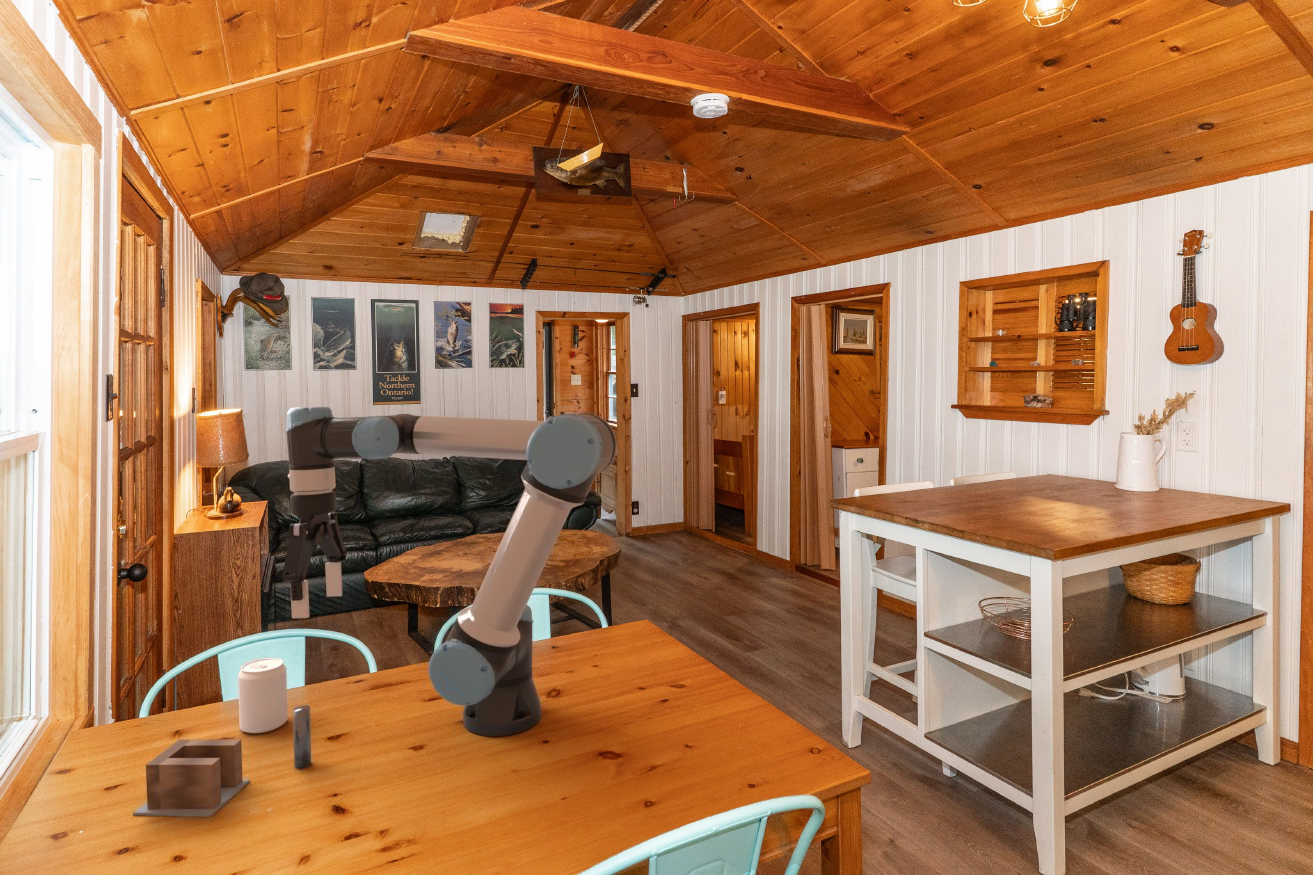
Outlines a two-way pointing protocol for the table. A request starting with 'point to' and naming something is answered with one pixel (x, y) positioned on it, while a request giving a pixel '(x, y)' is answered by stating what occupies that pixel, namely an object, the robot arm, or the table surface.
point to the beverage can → (262, 695)
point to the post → (302, 737)
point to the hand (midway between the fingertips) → (318, 606)
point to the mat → (225, 797)
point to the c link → (193, 774)
